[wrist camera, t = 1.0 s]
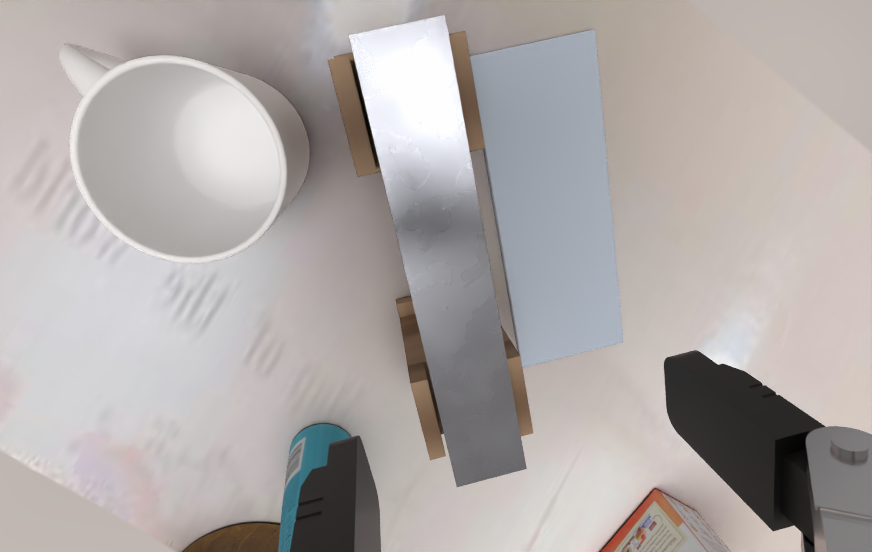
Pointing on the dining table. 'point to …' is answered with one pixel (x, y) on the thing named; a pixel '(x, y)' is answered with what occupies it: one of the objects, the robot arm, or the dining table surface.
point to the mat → (551, 193)
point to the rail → (441, 239)
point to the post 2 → (425, 389)
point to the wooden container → (240, 539)
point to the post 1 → (358, 118)
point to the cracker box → (665, 529)
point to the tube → (304, 471)
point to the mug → (182, 152)
